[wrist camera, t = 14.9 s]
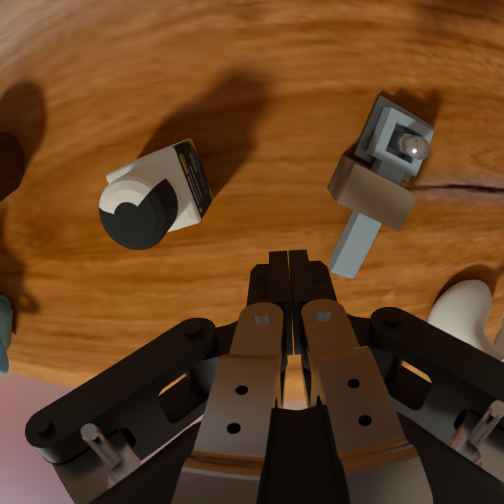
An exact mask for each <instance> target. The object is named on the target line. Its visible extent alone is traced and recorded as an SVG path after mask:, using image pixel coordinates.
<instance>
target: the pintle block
mask: <svg viewBox="0 0 504 504" xmlns="http://www.w3.org/2000/svg"><path fill="white" fill-rule="evenodd" d="M384 107H390V108H393V109H395V110H397V111H399V112H401V113H403V114H405V115H406V116H408V117H410V118H412V119H414V120H415V121H417V122H419V123H421V124H422V125H424V126H426V127H428V128H429V129H431V130H433V126H431V125H429V124H428V123H426V122H425V121H423V120H422V119H420V118H419V117H417V116H415V115H414V114H412V113H410V112H409V111H407V110H406V109H404V108H402V107H400V106H399V105H397V104H395V103H394V102H392V101H390V100H388V99H386V98H385V97H383V96H381V95H377V98H376V100H375V102H374V105H373V107H372V109H371V112H370V114H369V116H368V119H367V121H366V123H365V126H364V128H363V130H362V132H361V135H360V137H359V139H358V141H357V144H356V146H355V148H354V150H353V153H352V154H354V155H356V156H358V157H360V158H362V159H364V160H366V161H368V162H370V163H372V164H373V163H374V161H375V159H376V157H374V156H372V155H370V154H368V153H366V151H367V149H368V146H369V144H370V141H371V139H372V136H373V134H374V131H375V129H376V126H377V124H378V121H379V118H380V116H381V113H382V111H383V108H384ZM385 151H387V152H389V153H391V154H393V155H395V156H397V157H399V158H401V159H403V160H404V157H405V155H406V154H407V155H409V156H411V157H413V158H415V159H418V160H423V159H425V158H427V156H428V155H429V153H430V145H429V143H428V141H427V140H426V139H424V138H421V137H418V136H415V135H414V133H413V132H411V131H409V130H408V129H406V128H404V127H402V126H400V125H398V124H396V125H395V127H394V130H393V133H392V135H391V138H390V140H389V143H388V145H387V148H386V150H385ZM411 176H412V175H411V174H409V173H407V172H405V174H404V177H403V179H402V180H404V181H406V182H409V180H410V178H411Z"/></svg>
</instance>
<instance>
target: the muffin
mask: <svg viewBox="0 0 504 504" xmlns="http://www.w3.org/2000/svg"><path fill="white" fill-rule="evenodd" d="M23 174H24V165H23V151H22V149H21V148H20V146H19V145H18V142H17V140H16V137H14V136H10V135H8V134H6V133H5V132H0V202H1V201H2V200H3V199H5V198H6V197H7V196H8V195H9V194H11V193H12V192H13V191H14V190H16V189H17V188H18V187H19V184H20V180H21V178H22V176H23Z"/></svg>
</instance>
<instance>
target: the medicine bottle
mask: <svg viewBox="0 0 504 504" xmlns="http://www.w3.org/2000/svg"><path fill="white" fill-rule="evenodd" d="M107 180H108V182H109V185H108V186H107V187H106V188H105V190H104V191H103V193H102V195H101V198H100V203H99V214H100V219H101V222H102V225H103V227H104V229H105V230H106V232H107V233H108V235H109V236H110V237H111V238H112V239H113V240H114V241H115V242H117V243H118V244H120V245H122V246H123V247H126V248H129V249H133V250H144V249H148V248H151V247H153V246H155V245H156V244H158V243H159V242H160V241H161V240H162V239H163V237H164V236H165V235H166V233H167V232H170V231H173V230H177V229H180V228H183V227H187V226H190V225H193V224H197V223H199V222H200V221H201V219H202V218H203V216H204V214H205V212H206V211H207V209H208V207H209V206H210V204H211V202H212V200H213V195H212V192H211V189H210V186H209V184H208V181H207V178H206V175H205V173H204V170H203V167H202V164H201V162H200V159H199V156H198V153H197V150H196V148H195V145H194V142H193V140H192V139H191V138H189V139H186V140H183V141H181V142H178V143H175V144H173V145H170V146H168V147H165V148H163V149H160V150H158V151H155V152H153V153H150V154H148V155H145V156H143V157H141V158H138V159H136V160H134V161H132V162H130V163H128V164H126V165H124V166H122V167H120V168H118V169H116V170H114V171H112V172H110V173H108V174H107Z"/></svg>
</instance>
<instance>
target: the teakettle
mask: <svg viewBox="0 0 504 504" xmlns="http://www.w3.org/2000/svg"><path fill="white" fill-rule="evenodd" d="M12 319H13V309H12V308H11V303H10V301H9V299H8V298H7V297H6V296H5V295H3V294H2V295H0V374H6V373H7V372H8V368H9V362H8V357H7V353H6V350H7V349H8V348H9V346H10V345H11V333H12Z"/></svg>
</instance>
